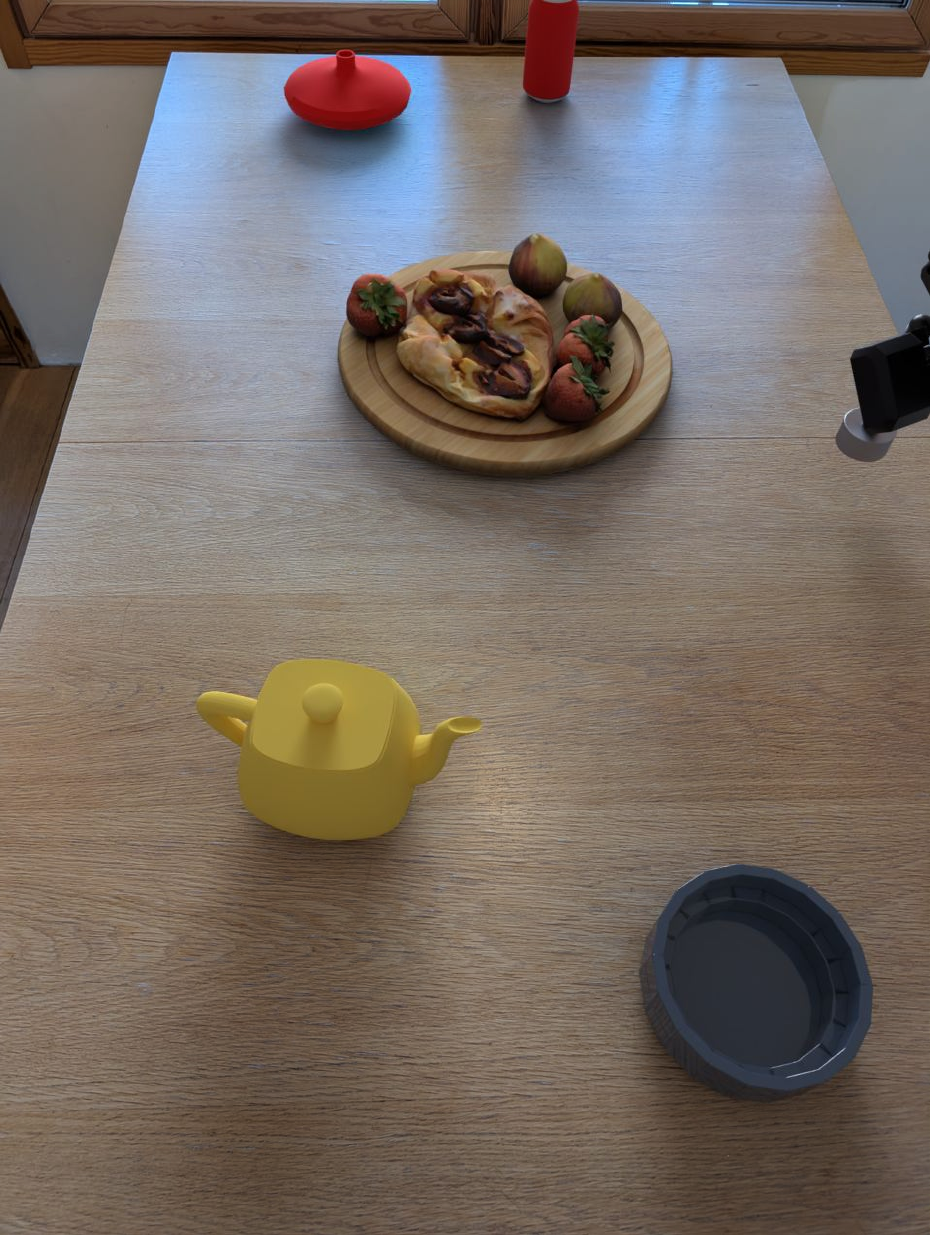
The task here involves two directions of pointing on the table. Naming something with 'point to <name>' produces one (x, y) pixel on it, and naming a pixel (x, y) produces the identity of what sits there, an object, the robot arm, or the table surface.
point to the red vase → (347, 92)
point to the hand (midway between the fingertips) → (880, 373)
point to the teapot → (330, 748)
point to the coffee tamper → (852, 431)
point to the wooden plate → (503, 360)
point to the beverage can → (550, 48)
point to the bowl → (755, 984)
